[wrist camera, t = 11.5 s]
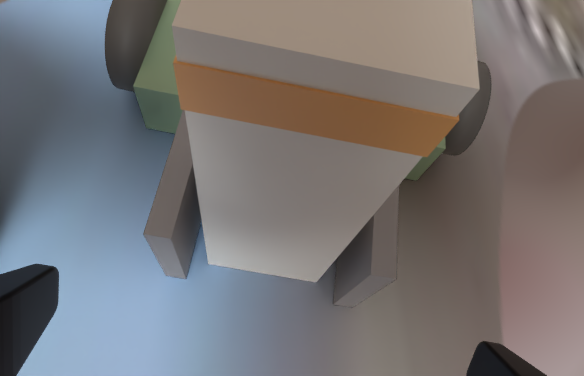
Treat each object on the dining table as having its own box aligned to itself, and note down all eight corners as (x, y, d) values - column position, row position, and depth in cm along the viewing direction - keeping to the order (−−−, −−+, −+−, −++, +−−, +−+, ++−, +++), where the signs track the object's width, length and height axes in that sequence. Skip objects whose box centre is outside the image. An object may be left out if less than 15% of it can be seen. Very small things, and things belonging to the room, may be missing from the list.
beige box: (317, 284, 17) (482, 92, 6) (206, 265, 17) (166, 27, 6) (328, 176, 19) (465, -107, 8) (231, 158, 19) (237, -161, 8)
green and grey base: (447, 324, 17) (525, 302, 13) (61, 257, 16) (-3, 208, 12) (438, -19, 27) (480, -100, 22) (195, -74, 26) (188, -171, 21)
